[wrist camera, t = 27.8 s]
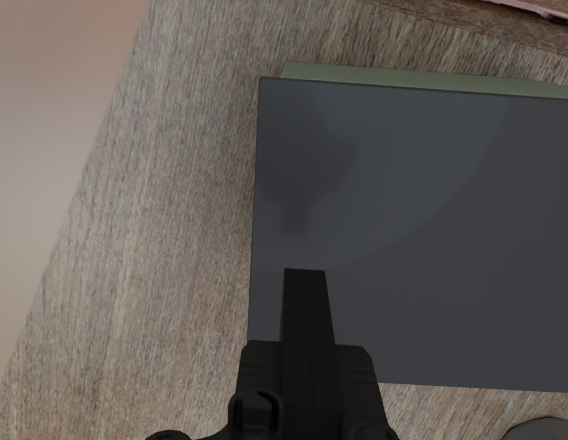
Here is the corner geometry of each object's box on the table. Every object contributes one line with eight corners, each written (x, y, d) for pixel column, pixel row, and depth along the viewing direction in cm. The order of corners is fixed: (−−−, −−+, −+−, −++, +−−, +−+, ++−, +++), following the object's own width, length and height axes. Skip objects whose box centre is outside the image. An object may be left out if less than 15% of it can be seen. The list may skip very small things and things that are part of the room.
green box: (271, 261, 36) (261, 360, 25) (285, 60, 30) (279, 76, 19) (479, 276, 36) (558, 382, 25) (532, 79, 30) (667, 105, 19)
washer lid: (246, 365, 25) (245, 375, 24) (260, 76, 19) (259, 77, 18) (559, 382, 25) (567, 393, 24) (668, 105, 19) (683, 108, 19)
